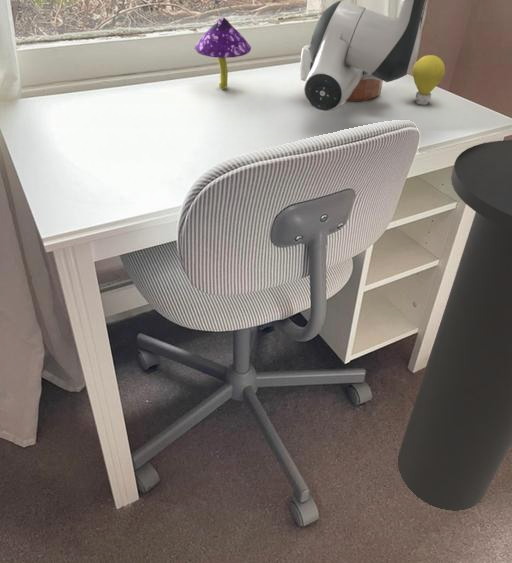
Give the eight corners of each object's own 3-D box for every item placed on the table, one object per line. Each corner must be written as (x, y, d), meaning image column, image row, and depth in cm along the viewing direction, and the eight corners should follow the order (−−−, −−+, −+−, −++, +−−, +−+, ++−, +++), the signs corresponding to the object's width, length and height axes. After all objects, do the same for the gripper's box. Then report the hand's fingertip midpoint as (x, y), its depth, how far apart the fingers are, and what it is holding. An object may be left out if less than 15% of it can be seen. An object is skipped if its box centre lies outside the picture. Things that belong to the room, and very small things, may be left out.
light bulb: (401, 98, 121) (410, 52, 114) (427, 96, 122) (437, 50, 116) (415, 109, 116) (425, 60, 109) (443, 106, 117) (454, 59, 111)
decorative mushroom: (203, 78, 128) (201, 9, 119) (254, 82, 127) (256, 13, 118) (189, 95, 119) (186, 22, 110) (245, 100, 117) (246, 26, 108)
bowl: (392, 93, 123) (396, 71, 120) (354, 107, 115) (357, 83, 112) (344, 78, 131) (347, 57, 128) (305, 90, 123) (307, 68, 120)
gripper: (396, 59, 104) (405, 42, 114) (295, 47, 109) (312, 32, 119) (390, 92, 108) (399, 72, 118) (293, 78, 113) (310, 61, 123)
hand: (355, 52), depth 119 cm, fingers open, 8 cm apart
